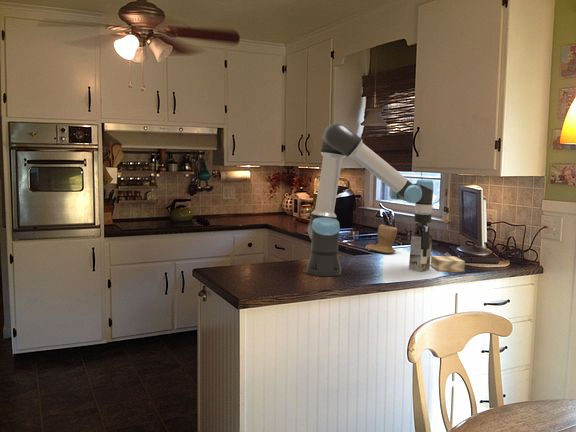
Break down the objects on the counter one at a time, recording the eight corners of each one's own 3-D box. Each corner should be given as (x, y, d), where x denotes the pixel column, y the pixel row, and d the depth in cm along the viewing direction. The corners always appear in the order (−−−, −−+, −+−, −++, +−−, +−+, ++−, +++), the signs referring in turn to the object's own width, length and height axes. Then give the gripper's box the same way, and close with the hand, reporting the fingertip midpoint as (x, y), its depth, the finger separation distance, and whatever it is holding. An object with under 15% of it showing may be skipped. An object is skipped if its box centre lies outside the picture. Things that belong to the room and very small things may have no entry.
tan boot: (400, 253, 297) (402, 225, 295) (385, 255, 289) (387, 227, 288) (379, 249, 308) (380, 222, 307) (364, 250, 301) (366, 223, 299)
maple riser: (438, 271, 252) (438, 260, 252) (429, 266, 265) (430, 255, 264) (464, 272, 253) (465, 261, 253) (455, 266, 265) (456, 256, 265)
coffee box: (421, 272, 250) (423, 236, 248) (408, 269, 254) (410, 235, 252) (430, 269, 257) (432, 235, 255) (417, 267, 261) (419, 233, 259)
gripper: (439, 216, 241) (435, 266, 244) (423, 211, 264) (420, 256, 266) (422, 216, 241) (418, 266, 243) (408, 210, 264) (405, 256, 266)
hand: (419, 261), depth 255 cm, fingers closed on coffee box, 10 cm apart
